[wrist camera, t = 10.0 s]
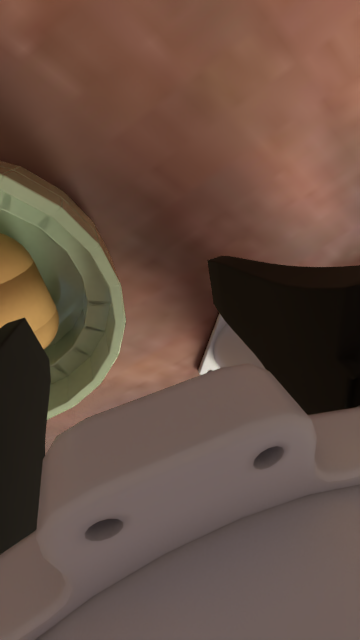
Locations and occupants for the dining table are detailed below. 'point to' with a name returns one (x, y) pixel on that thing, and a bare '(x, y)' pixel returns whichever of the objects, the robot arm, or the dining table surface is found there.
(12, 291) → the potato
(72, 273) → the celadon bowl
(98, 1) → the dining table surface
